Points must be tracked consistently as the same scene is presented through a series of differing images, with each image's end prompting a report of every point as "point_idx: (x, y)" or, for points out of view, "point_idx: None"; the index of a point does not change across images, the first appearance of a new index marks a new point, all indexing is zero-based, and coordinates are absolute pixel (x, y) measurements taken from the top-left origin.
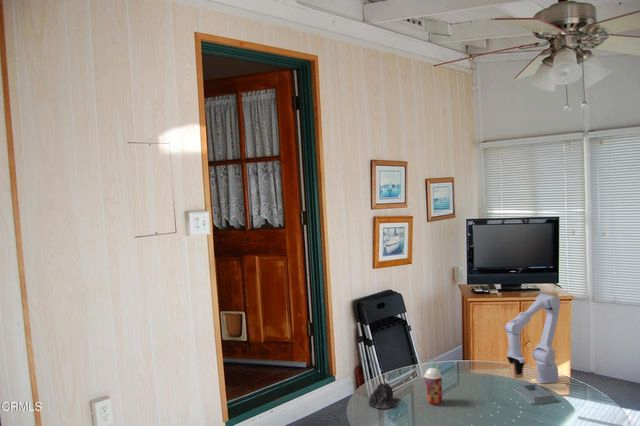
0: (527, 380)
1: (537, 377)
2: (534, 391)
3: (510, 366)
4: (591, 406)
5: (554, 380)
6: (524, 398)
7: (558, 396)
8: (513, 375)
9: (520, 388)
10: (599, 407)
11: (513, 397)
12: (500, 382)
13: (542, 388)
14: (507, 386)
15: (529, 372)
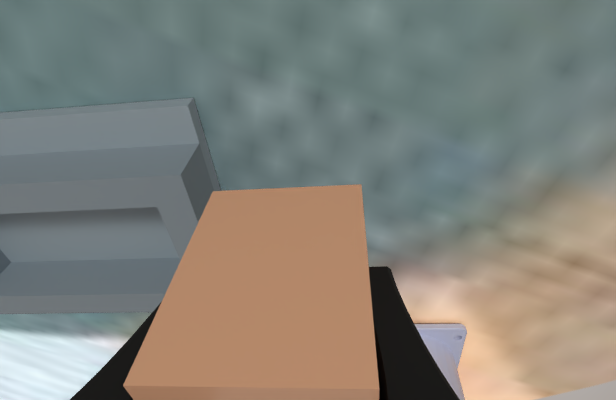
0: (449, 275)
1: (450, 342)
2: (168, 243)
3: (332, 325)
4: (12, 378)
5: None
6: (1, 116)
7: (122, 323)
8: (240, 212)
9: (161, 160)
10: (10, 392)
11: (35, 11)
12: (544, 15)
13: (106, 311)
14: (379, 61)
15: (593, 334)
